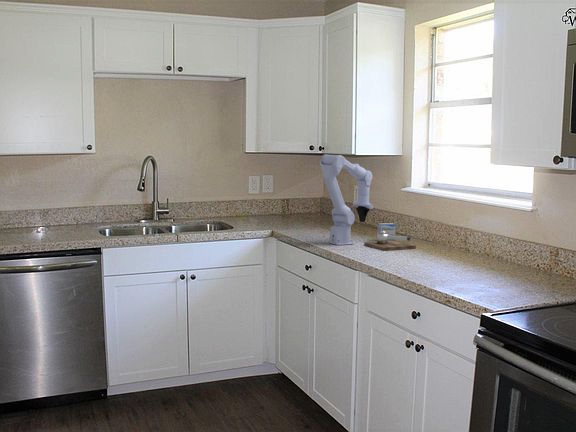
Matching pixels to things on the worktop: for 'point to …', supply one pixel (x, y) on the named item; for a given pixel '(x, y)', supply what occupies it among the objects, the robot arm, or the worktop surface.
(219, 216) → the worktop surface
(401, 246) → the stand
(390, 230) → the medicine box
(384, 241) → the ball-knob lever
